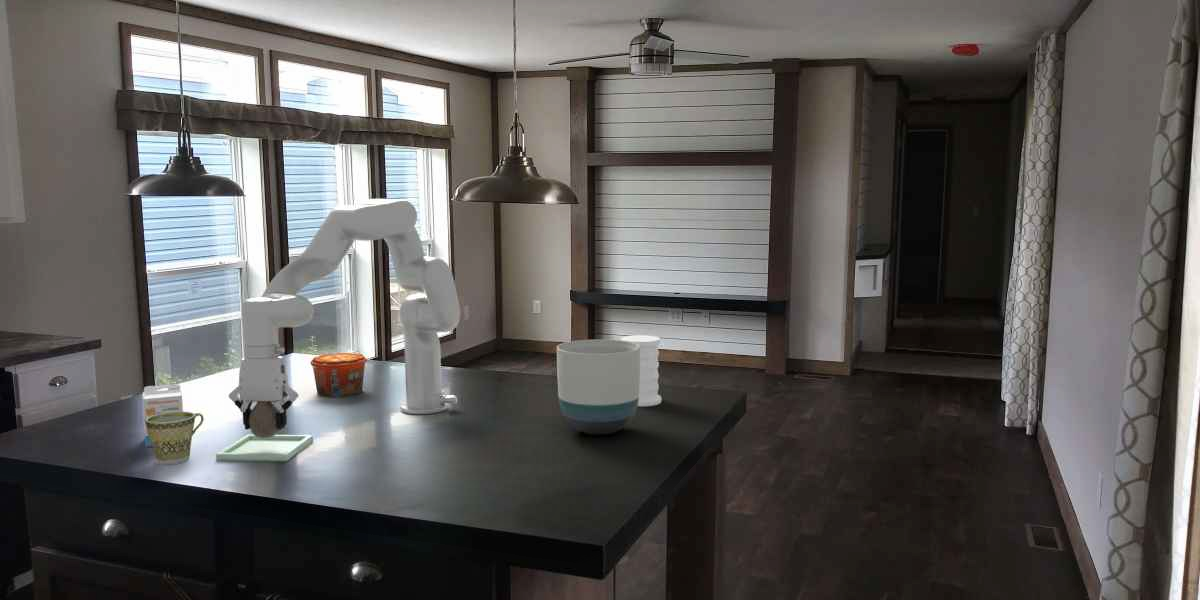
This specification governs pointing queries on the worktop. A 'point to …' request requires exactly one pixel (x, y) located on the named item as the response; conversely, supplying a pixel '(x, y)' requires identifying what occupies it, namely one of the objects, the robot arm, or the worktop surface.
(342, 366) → the food container
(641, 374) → the decorative container
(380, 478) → the worktop surface
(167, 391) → the ink box
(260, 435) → the vase
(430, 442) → the worktop surface
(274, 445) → the tray
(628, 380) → the planter
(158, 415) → the ceramic cup
